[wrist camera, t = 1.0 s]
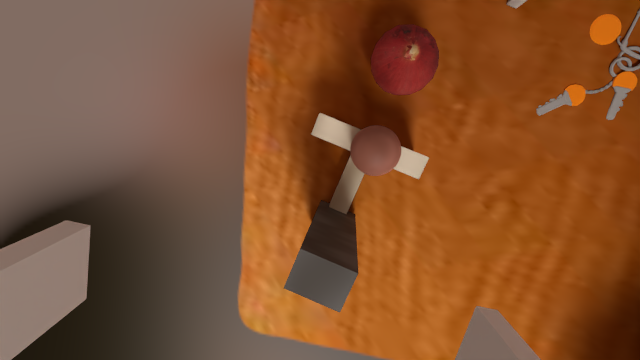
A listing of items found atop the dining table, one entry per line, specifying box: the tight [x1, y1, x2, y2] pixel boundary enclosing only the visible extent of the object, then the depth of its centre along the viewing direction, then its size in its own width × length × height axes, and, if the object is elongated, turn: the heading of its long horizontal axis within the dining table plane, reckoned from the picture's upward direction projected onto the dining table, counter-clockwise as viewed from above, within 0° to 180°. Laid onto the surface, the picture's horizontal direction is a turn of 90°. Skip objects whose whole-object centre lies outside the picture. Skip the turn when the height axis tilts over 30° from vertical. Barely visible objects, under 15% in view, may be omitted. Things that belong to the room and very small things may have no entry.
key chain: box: [537, 9, 640, 120], centre depth 29 cm, size 13×7×1 cm, turn 151°
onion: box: [371, 24, 439, 95], centre depth 27 cm, size 6×6×8 cm
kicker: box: [284, 113, 429, 312], centre depth 25 cm, size 10×12×14 cm
